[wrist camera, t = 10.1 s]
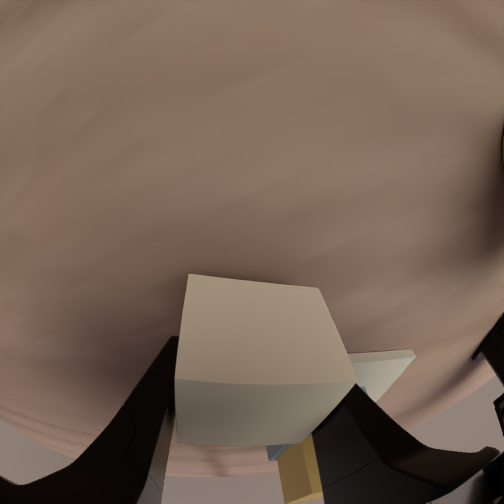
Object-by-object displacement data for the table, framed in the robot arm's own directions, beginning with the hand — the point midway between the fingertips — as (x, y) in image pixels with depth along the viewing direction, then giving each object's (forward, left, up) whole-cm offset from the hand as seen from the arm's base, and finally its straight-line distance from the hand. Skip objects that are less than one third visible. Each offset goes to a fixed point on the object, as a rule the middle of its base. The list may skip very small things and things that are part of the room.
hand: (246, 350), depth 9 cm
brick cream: (0, 0, -1) cm, 1 cm away
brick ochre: (-7, +10, +1) cm, 12 cm away
